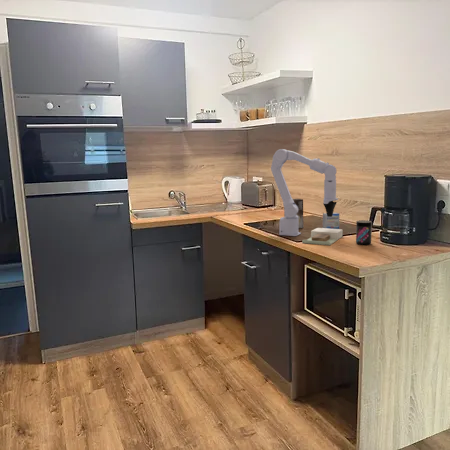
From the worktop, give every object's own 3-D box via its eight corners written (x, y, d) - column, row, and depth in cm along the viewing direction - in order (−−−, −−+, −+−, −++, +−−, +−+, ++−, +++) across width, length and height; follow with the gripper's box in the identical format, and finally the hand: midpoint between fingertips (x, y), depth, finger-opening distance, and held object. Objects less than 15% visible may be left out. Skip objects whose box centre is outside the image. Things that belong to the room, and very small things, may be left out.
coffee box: (298, 226, 240) (298, 198, 237) (303, 227, 234) (303, 199, 231) (283, 227, 238) (283, 199, 235) (288, 229, 232) (288, 200, 229)
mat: (302, 243, 196) (302, 239, 196) (310, 238, 207) (310, 235, 206) (329, 245, 190) (329, 242, 189) (337, 240, 200) (337, 237, 200)
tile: (311, 241, 197) (311, 237, 197) (317, 237, 205) (317, 233, 204) (324, 242, 194) (324, 238, 194) (329, 238, 202) (329, 234, 201)
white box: (311, 238, 207) (311, 231, 206) (317, 234, 215) (317, 227, 214) (337, 240, 200) (337, 232, 200) (342, 236, 208) (342, 229, 208)
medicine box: (325, 229, 226) (326, 214, 225) (322, 228, 231) (322, 213, 229) (339, 229, 228) (339, 213, 226) (335, 227, 232) (336, 212, 231)
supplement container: (352, 243, 193) (353, 220, 191) (365, 241, 195) (366, 219, 193) (361, 246, 187) (362, 223, 185) (374, 244, 189) (375, 222, 187)
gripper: (333, 191, 199) (333, 219, 202) (342, 188, 211) (341, 214, 214) (319, 190, 203) (319, 218, 205) (328, 188, 215) (328, 214, 217)
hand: (329, 216), depth 210 cm, fingers closed
